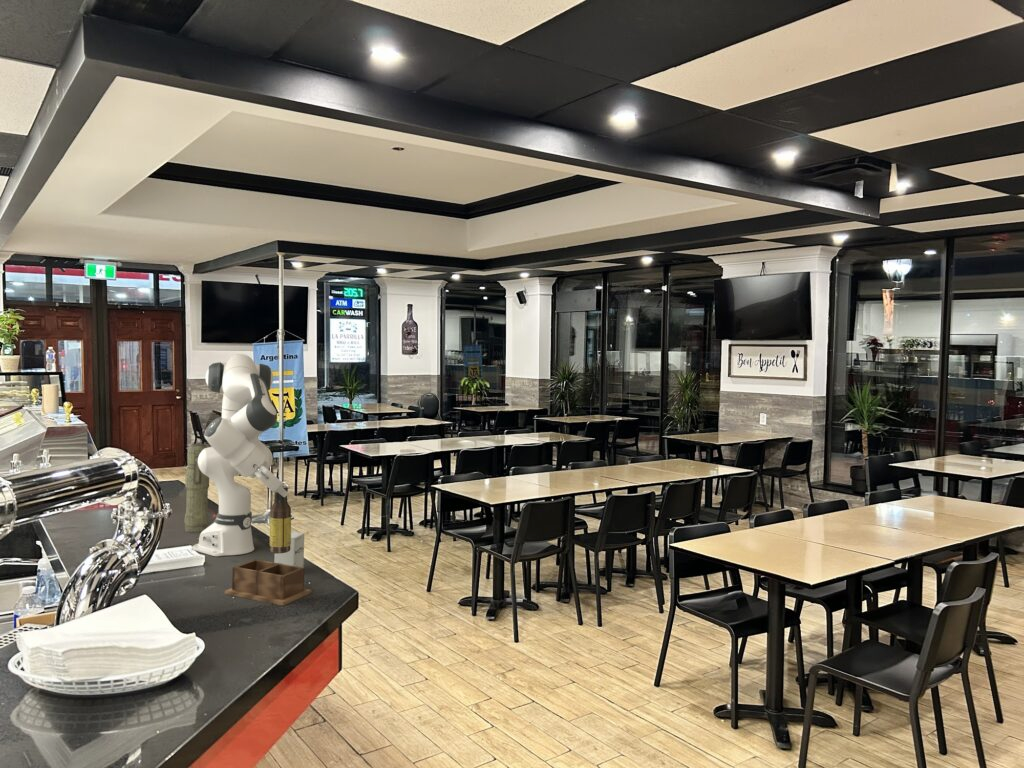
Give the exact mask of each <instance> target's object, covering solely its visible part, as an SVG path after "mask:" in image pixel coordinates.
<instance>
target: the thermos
mask: <svg viewBox="0 0 1024 768" xmlns="http://www.w3.org/2000/svg"><path fill="white" fill-rule="evenodd" d="M204 448H208V445H206V444H205V443H201V442H200V443H199V442H198V443H191V444H190V445H189V447H188V450H187V469H186V473H185V485H184V487H185V489H186V496H185V497H186V498H185V499H186V500H185V501H186V502H185V505H186V508H185V514H184V523H183V524H184V532H186V533H189V534H198V533H200V534H201V532H202V531H203V530H205V529H206V528H207V527H209V524H210V523H209V522H210V521H209V520H210V518H209V517H210V516H209V514H208V513H209V512H208V502H209V501H208V499H209V498H208V496H209V495H208V494H209V487H210V478H209V477H208V476H206V475H205V474H203V473H202V472H201V471H200V469H199V467H198V457H199V454H200V453H201V451H202V450H203V449H204Z"/></svg>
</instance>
